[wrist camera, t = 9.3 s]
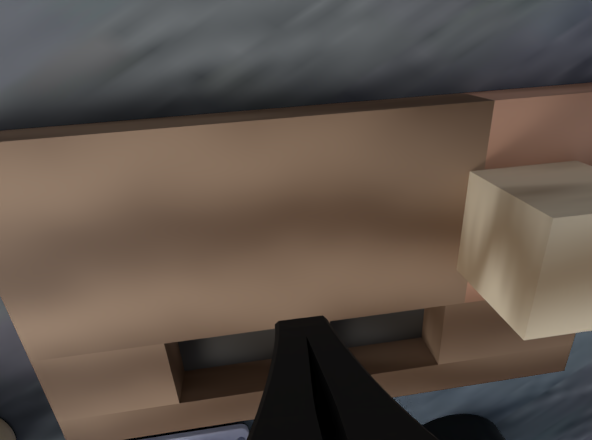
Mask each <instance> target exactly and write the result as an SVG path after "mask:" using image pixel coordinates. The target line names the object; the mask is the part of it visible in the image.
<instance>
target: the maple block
mask: <svg viewBox="0 0 592 440" xmlns="http://www.w3.org/2000/svg"><path fill="white" fill-rule="evenodd" d="M456 270H457V271H458V272H459V273H460V274H461V275H462V276H463V277H464V278H465V279H466V280H467V281H468V282H469V283H470V284H471V286H472V287H473V288H474V289H475V290H476V291H477V292H478V293H479V294H480V295H481V296H482V297H483V298H484V299H485V300H486V301H487V302H488V303H489V304H490V305H491V307H492V308H493V309H494V310H495V311H496V312H497V313H498V314H499V315H500V316H501V317H502V318H503V319H504V320H505V321H506V322H507V323H508V324H509V325H510V326H511V328H512V329H513V330H514V331H515V332H516V333H517V334H518V335H519V336H520V337H521V338H522V339H523V340H530V339H537V338H544V337H551V336H558V335H564V334H571V333H578V332H585V331H592V166H590V165H587V164H585V163H582V162H579V161H567V162H557V163H547V164H537V165H527V166H517V167H507V168H497V169H487V170H477V171H470V173H469V180H468V188H467V195H466V203H465V210H464V217H463V225H462V232H461V240H460V247H459V254H458V262H457V269H456Z"/></svg>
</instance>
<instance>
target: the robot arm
mask: <svg viewBox="0 0 592 440" xmlns="http://www.w3.org/2000/svg"><path fill="white" fill-rule="evenodd" d="M140 440H439V439H438V438H436V437H435V436H434V435H433V434H432V433H431V432H429V431H428V430H427V429H426V428H425V427H423V426H422V425H421V424H420V423H419V422H418V421H417V420H415V419H414V418H413V417H412V416H411V415H410V414H409V413H408V412H407V411H405V410H404V409H403V408H402V407H401V406H400V405H399V404H398V403H397V402H396V401H395V400H394V399H393V398H392V397H391V396H390V395H389V394H388V393H387V392H386V391H385V390H384V389H383V388H382V387H381V386H380V385H379V384H378V383H377V382H376V380H375V379H374V378H373V377H372V376H371V375H370V374H369V373H368V372H367V370H366V369H365V368H364V367H363V366H362V365H361V363H360V362H359V361H358V360H357V359H356V358H355V356H354V355H353V354H352V353H351V352H350V350H349V349H348V348H347V346H346V345H345V344H344V343H343V341H342V340H341V339H340V337H339V336H338V335H337V333H336V332H335V330H334V329H333V328H332V326H331V325H330V323H329V321H328V320H327V318H325V317H324V316H323V315H322V316H314V317H306V318H297V319H289V320H281V321H278V322H277V323H276V324H275V342H274V349H273V355H272V360H271V364H270V369H269V373H268V377H267V381H266V385H265V388H264V391H263V395H262V398H261V401H260V404H259V407H258V410H257V413H256V416H255V419H254V422H253V424H252V427H251V430H250V432H249V430H248V427H247V426H246V425H245V424H235V425H229V426H222V427H216V428H210V429H203V430H197V431H191V432H184V433H178V434H172V435H165V436H159V437H152V438H146V439H140Z"/></svg>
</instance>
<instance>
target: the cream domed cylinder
mask: <svg viewBox="0 0 592 440" xmlns="http://www.w3.org/2000/svg"><path fill="white" fill-rule="evenodd" d="M0 440H16V437H15V434H14V432H13V430H12V429H11V427H10V426H9V425H8V424H7V423H6V422H5V421H3V420H2V419H1V418H0Z"/></svg>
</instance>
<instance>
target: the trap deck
mask: <svg viewBox="0 0 592 440" xmlns="http://www.w3.org/2000/svg"><path fill="white" fill-rule="evenodd" d="M567 161H579V162H582V163H585V164H587V165H590V166H592V83H580V84H567V85H555V86H543V87H531V88H518V89H506V90H494V91H481V92H469V93H457V94H444V95H432V96H420V97H408V98H395V99H383V100H371V101H358V102H346V103H334V104H321V105H309V106H297V107H285V108H272V109H260V110H248V111H235V112H223V113H211V114H198V115H186V116H174V117H162V118H149V119H137V120H125V121H112V122H100V123H88V124H76V125H63V126H51V127H39V128H26V129H14V130H2V131H0V296H1V298H2V300H3V303H4V305H5V307H6V309H7V311H8V314H9V316H10V318H11V320H12V322H13V325H14V327H15V329H16V331H17V333H18V336H19V338H20V340H21V342H22V344H23V347H24V349H25V351H26V353H27V355H28V358H29V360H30V362H31V364H32V366H33V369H34V371H35V373H36V375H37V377H38V380H39V382H40V384H41V386H42V388H43V390H44V393H45V395H46V397H47V399H48V401H49V404H50V406H51V408H52V410H53V412H54V415H55V417H56V419H57V421H58V423H59V426H60V428H61V430H62V432H63V434H64V437H65V439H66V440H124V439H131V438H137V437H143V436H150V435H156V434H163V433H169V432H175V431H182V430H188V429H195V428H201V427H207V426H214V425H220V424H226V423H233V422H239V421H246V420H252V419H255V416H256V413H257V410H258V407H259V404H260V401H261V398H262V395H263V391H264V388H265V385H266V381H267V377H268V373H269V369H270V364H271V360H272V355H273V349H274V342H275V324H276V323H277V322H278V321H281V320H289V319H297V318H306V317H314V316H322V315H323V316H324V317H325V318H327V320H328V321H329V323H330V325H331V326H332V328H333V329H334V330H335V332H336V333H337V335H338V336H339V337H340V339H341V340H342V341H343V343H344V344H345V345H346V346H347V348H348V349H349V350H350V352H351V353H352V354H353V355H354V356H355V358H356V359H357V360H358V361H359V362H360V363H361V365H362V366H363V367H364V368H365V369H366V370H367V372H368V373H369V374H370V375H371V376H372V377H373V378H374V379H375V380H376V382H377V383H378V384H379V385H380V386H381V387H382V388H383V389H384V390H385V391H386V392H387V393H388V394H389V395H390V396H391V397H399V396H405V395H412V394H418V393H424V392H431V391H437V390H444V389H450V388H456V387H463V386H469V385H475V384H482V383H488V382H495V381H501V380H507V379H514V378H520V377H527V376H533V375H539V374H546V373H552V372H558V371H564V370H565V366H566V363H567V360H568V357H569V353H570V350H571V347H572V344H573V341H574V337H575V334H576V333H571V334H564V335H558V336H551V337H544V338H537V339H530V340H523V339H522V338H521V337H520V336H519V335H518V334H517V333H516V332H515V331H514V330H513V329H512V328H511V326H510V325H509V324H508V323H507V322H506V321H505V320H504V319H503V318H502V317H501V316H500V315H499V314H498V313H497V312H496V311H495V310H494V309H493V308H492V307H491V305H490V304H489V303H488V302H487V301H486V300H485V299H484V298H483V297H482V296H481V295H480V294H479V293H478V292H477V291H476V290H475V289H474V288H473V287H472V286H471V284H470V283H469V282H468V281H467V280H466V279H465V278H464V277H463V276H462V275H461V274H460V273H459V272H458V271H457V270H456V269H457V262H458V254H459V247H460V240H461V232H462V225H463V217H464V210H465V203H466V195H467V188H468V180H469V173H470V171H477V170H487V169H497V168H507V167H517V166H527V165H537V164H547V163H557V162H567Z"/></svg>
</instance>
